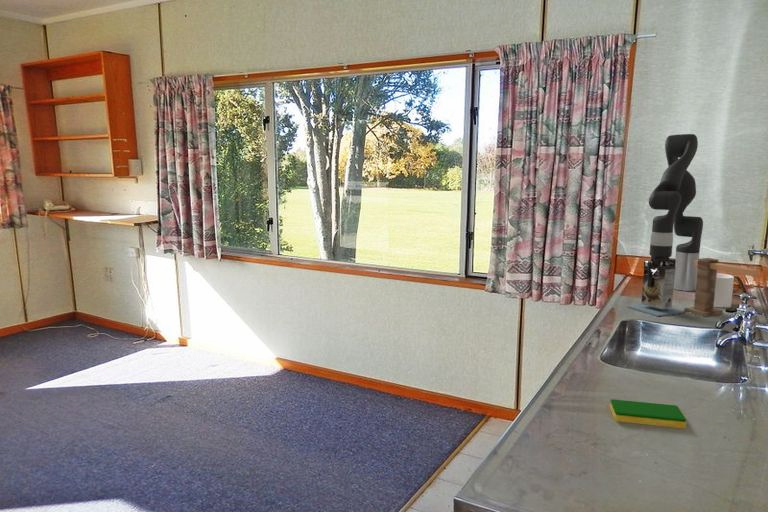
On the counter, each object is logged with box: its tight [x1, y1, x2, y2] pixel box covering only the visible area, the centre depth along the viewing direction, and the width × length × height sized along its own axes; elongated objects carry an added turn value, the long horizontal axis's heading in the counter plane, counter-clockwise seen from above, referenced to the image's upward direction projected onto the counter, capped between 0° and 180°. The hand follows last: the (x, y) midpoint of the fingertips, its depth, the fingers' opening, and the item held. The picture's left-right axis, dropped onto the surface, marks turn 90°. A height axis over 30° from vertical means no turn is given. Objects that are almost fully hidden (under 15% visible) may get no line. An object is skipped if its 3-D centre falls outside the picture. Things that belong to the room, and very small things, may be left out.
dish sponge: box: [609, 398, 687, 429], centre depth 114 cm, size 7×14×2 cm, turn 75°
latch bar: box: [694, 260, 760, 277], centre depth 188 cm, size 3×22×2 cm, turn 21°
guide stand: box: [683, 257, 723, 317], centre depth 196 cm, size 10×8×21 cm
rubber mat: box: [627, 304, 686, 318], centre depth 201 cm, size 14×14×1 cm
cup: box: [713, 272, 735, 309], centre depth 208 cm, size 12×12×12 cm
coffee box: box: [640, 266, 676, 309], centre depth 199 cm, size 9×6×16 cm
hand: (657, 286), depth 199 cm, fingers closed on coffee box, 6 cm apart
